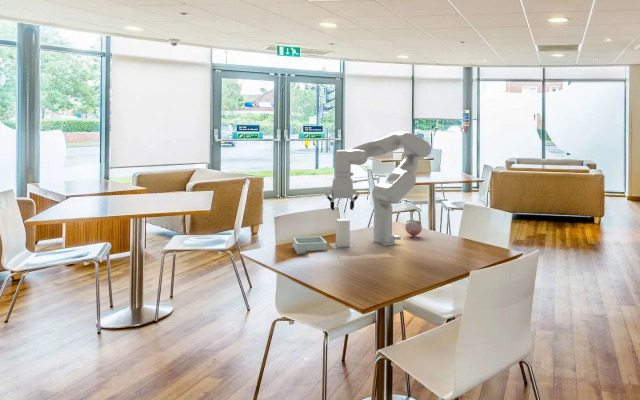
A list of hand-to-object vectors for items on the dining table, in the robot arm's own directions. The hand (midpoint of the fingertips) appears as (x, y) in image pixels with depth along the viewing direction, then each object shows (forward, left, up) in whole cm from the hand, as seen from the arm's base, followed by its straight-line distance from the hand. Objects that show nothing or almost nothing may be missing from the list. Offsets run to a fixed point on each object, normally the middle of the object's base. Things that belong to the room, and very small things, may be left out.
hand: (342, 209), depth 249 cm
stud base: (0, 0, -20) cm, 20 cm away
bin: (+17, 0, -20) cm, 26 cm away
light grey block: (0, 0, -18) cm, 18 cm away
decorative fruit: (-46, -20, -20) cm, 54 cm away
